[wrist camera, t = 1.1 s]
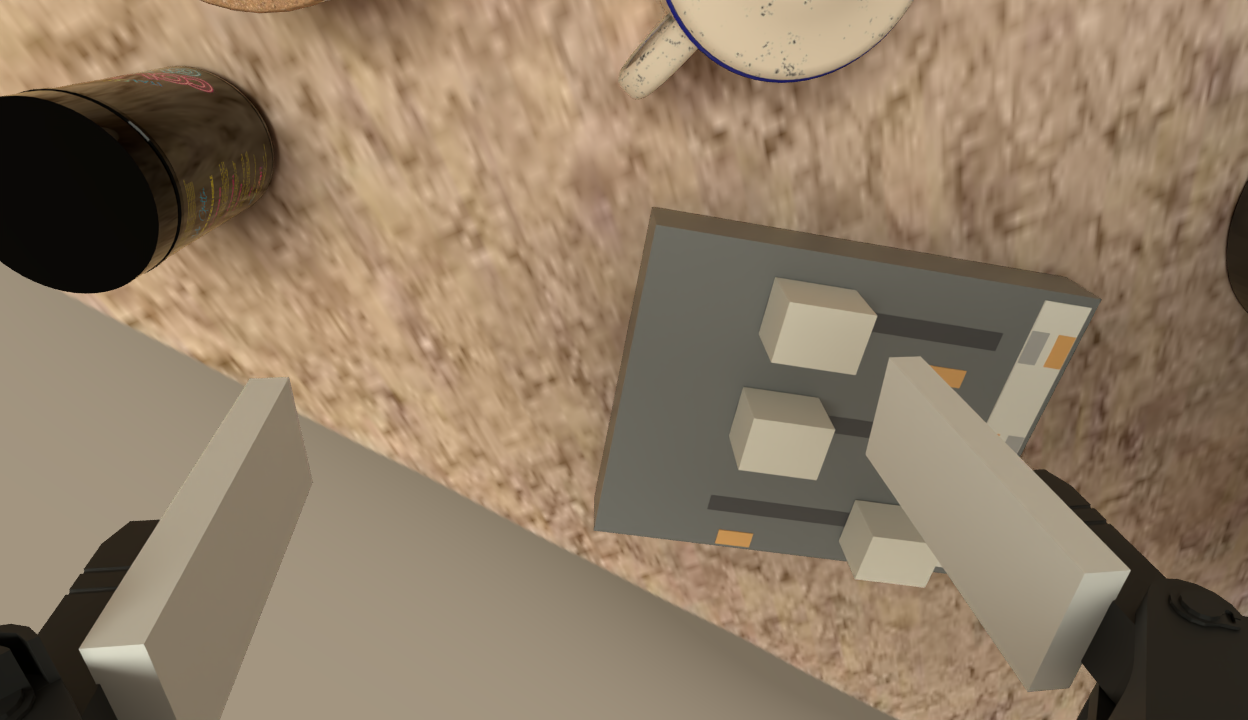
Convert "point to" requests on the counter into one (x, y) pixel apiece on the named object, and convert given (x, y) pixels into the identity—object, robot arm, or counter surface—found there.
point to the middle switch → (780, 433)
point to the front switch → (816, 326)
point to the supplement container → (124, 173)
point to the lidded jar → (264, 5)
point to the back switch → (885, 546)
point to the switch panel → (805, 375)
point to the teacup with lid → (760, 38)
